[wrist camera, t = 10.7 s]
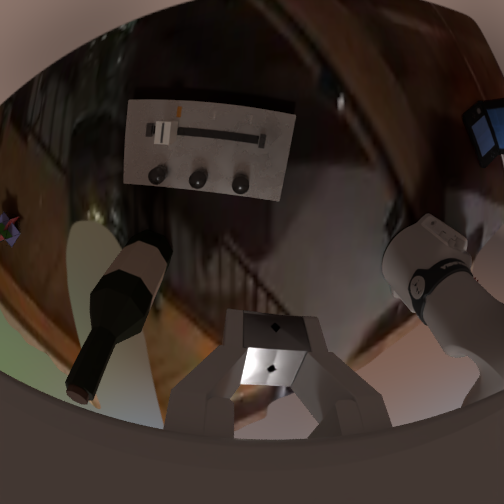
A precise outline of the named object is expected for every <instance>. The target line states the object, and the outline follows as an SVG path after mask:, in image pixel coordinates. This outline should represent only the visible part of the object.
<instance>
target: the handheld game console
mask: <svg viewBox="0 0 504 504" xmlns="http://www.w3.org/2000/svg"><path fill="white" fill-rule="evenodd" d="M463 121H464V124H465V126H466V129H467V131H468V134H469V136H470V139H471V141H472V144H473V147H474V150H475V152H476V155H477V158H478V161H479V164H480V166H481V167H482V168H486V167H487V166H488V165H489V164H490V163H491V162H492V161H493V159H494V158H495V157H496V156H497V155H501V154H504V98H500V99H493V100H486V101H484V102H483V101H478V102H477V103H476V104H474V105H473V106H472V107H471V108H470V109H469V110H467V111H466V112H465V113H464V114H463Z"/></svg>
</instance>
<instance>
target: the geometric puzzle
mask: <svg viewBox="0 0 504 504" xmlns="http://www.w3.org/2000/svg"><path fill="white" fill-rule="evenodd" d="M6 213H7V212H6ZM6 213H5V212H4V211H3V213H2V215H1V216H0V242H1V241H3V240H4V239H5V240H6V241H7V243H8V244H9V245H10V246H11V248H12V246H13V245H14V243H15V241H16V240H17V238H18V237H19V235H20V234H21V233H20V232H19V231H18V229H17V228H16V227H15V225H14V224H15V222H16V220H17V219H18V217H19V216H18V217H15V218H12V219H10V218H9V217H8V216H7V215H6ZM9 214H10V213H9ZM12 215H13V214H12ZM15 216H16V215H15ZM19 225H20V223H19ZM8 247H9V246H8Z"/></svg>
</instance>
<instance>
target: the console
mask: <svg viewBox="0 0 504 504" xmlns="http://www.w3.org/2000/svg"><path fill="white" fill-rule="evenodd" d="M295 119H296V115H292V114H287V113H282V112H277V111H271V110H265V109H259V108H253V107H246V106H238V105H230V104H221V103H211V102H199V101H183V100H129V101H128V111H127V121H126V134H125V150H124V184H138V185H150V186H161V187H171V188H181V189H190V190H199V191H208V192H216V193H224V194H231V195H239V196H246V197H253V198H260V199H267V200H273V201H279V200H280V195H281V190H282V185H283V180H284V175H285V170H286V165H287V160H288V155H289V150H290V145H291V140H292V134H293V129H294V124H295ZM162 120H172V121H179V122H178V130H177V139H176V142H174V143H172V144H169V145H165V144H154V139H155V128H156V121H162Z"/></svg>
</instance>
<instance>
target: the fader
mask: <svg viewBox="0 0 504 504" xmlns="http://www.w3.org/2000/svg"><path fill="white" fill-rule="evenodd" d="M178 122H179V121H172V120H162V121H156V128H155V139H154V144H165V145H169V144H172V143H174V142H176V139H177V130H178Z"/></svg>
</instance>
